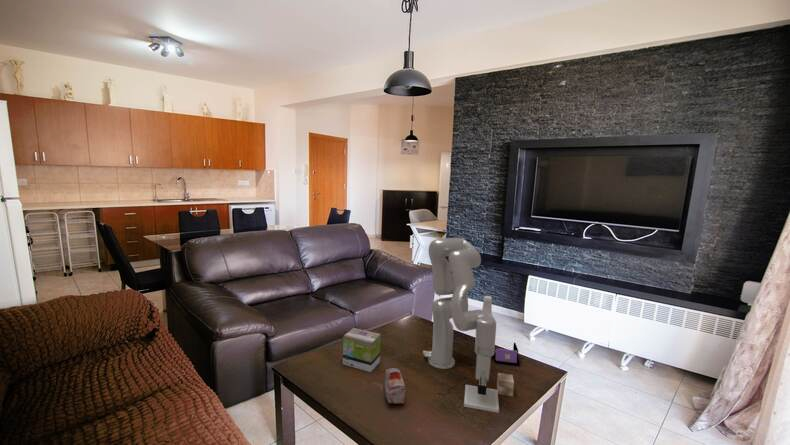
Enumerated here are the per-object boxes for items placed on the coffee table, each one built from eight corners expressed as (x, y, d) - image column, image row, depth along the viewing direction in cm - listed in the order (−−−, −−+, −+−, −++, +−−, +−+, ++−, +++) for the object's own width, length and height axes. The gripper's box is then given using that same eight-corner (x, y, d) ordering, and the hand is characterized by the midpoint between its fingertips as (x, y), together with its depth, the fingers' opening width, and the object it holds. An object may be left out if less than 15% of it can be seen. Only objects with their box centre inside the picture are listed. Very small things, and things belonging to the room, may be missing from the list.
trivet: (463, 406, 134) (464, 403, 134) (465, 387, 147) (465, 384, 146) (498, 412, 131) (499, 409, 131) (497, 392, 144) (497, 389, 143)
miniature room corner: (520, 366, 165) (521, 352, 164) (494, 363, 167) (495, 349, 166) (516, 353, 177) (517, 341, 176) (491, 351, 179) (492, 338, 178)
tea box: (342, 365, 160) (342, 335, 158) (352, 355, 170) (353, 326, 168) (371, 373, 155) (372, 342, 153) (380, 362, 164) (381, 332, 162)
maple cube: (497, 372, 148) (496, 385, 149) (498, 380, 142) (497, 394, 143) (512, 374, 146) (511, 388, 147) (513, 382, 141) (512, 396, 141)
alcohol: (471, 352, 176) (475, 296, 172) (482, 348, 181) (486, 292, 177) (485, 360, 169) (489, 301, 165) (496, 355, 174) (500, 297, 171)
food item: (407, 405, 134) (408, 381, 132) (386, 407, 132) (387, 383, 131) (399, 384, 147) (400, 363, 146) (381, 386, 145) (381, 364, 144)
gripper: (475, 338, 145) (472, 379, 147) (474, 356, 129) (471, 402, 132) (493, 340, 143) (490, 382, 145) (495, 360, 127) (492, 406, 130)
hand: (481, 391), depth 138 cm, fingers closed
